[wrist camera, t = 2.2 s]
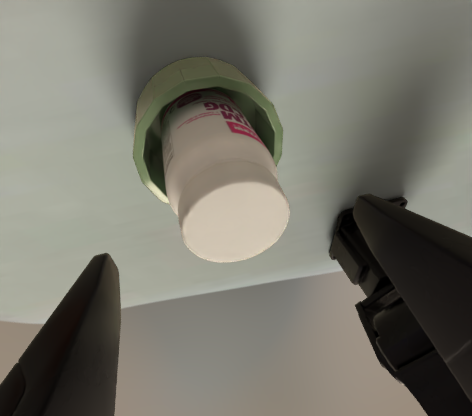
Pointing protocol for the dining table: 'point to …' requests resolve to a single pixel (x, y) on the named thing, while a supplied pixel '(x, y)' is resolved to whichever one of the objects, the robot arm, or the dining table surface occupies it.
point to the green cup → (186, 79)
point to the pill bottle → (220, 178)
